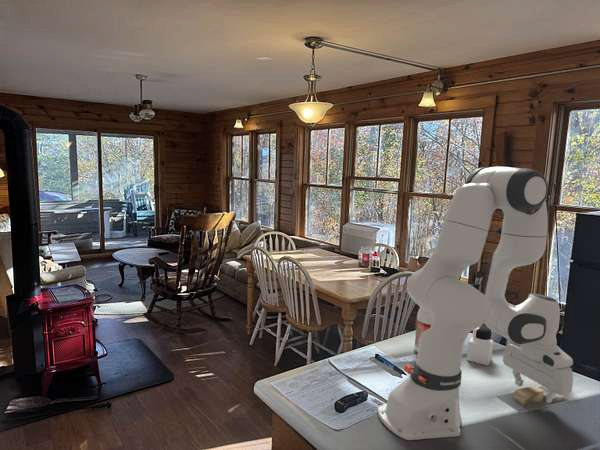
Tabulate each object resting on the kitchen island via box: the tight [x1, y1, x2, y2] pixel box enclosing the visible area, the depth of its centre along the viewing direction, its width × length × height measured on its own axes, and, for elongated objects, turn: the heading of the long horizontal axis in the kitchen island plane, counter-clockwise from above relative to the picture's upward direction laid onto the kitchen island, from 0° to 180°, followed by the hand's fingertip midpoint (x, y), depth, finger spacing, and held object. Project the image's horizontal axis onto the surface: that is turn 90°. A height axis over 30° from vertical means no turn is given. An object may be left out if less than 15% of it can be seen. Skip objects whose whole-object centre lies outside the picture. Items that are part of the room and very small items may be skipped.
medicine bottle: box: [466, 326, 494, 366], centre depth 148 cm, size 7×7×12 cm
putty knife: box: [514, 385, 565, 405], centre depth 123 cm, size 15×6×3 cm, turn 112°
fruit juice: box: [414, 306, 433, 353], centre depth 152 cm, size 9×9×28 cm
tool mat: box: [495, 385, 572, 414], centre depth 123 cm, size 20×9×1 cm, turn 112°
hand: (532, 393), depth 122 cm, fingers open, 8 cm apart
